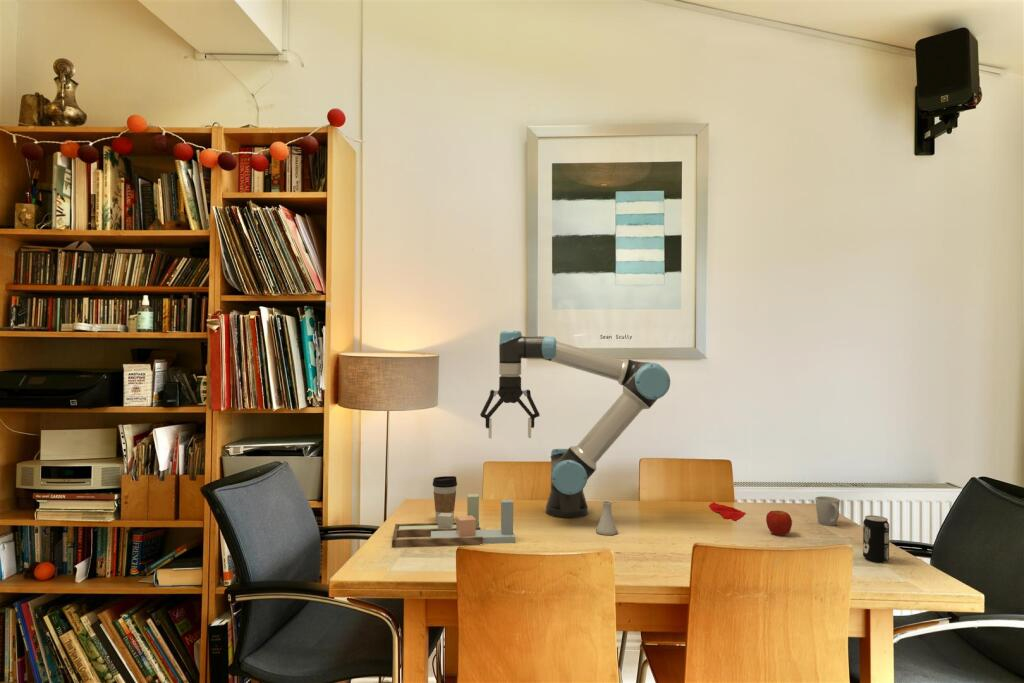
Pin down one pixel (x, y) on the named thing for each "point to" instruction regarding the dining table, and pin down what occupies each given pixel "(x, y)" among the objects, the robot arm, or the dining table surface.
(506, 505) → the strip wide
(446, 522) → the grey cube
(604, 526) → the flask
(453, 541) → the lane frame
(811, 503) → the dining table surface
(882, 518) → the beverage can
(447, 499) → the coffee cup
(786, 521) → the apple
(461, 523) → the terracotta cube
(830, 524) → the cup
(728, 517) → the cloth
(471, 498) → the grey l-shaped bracket
